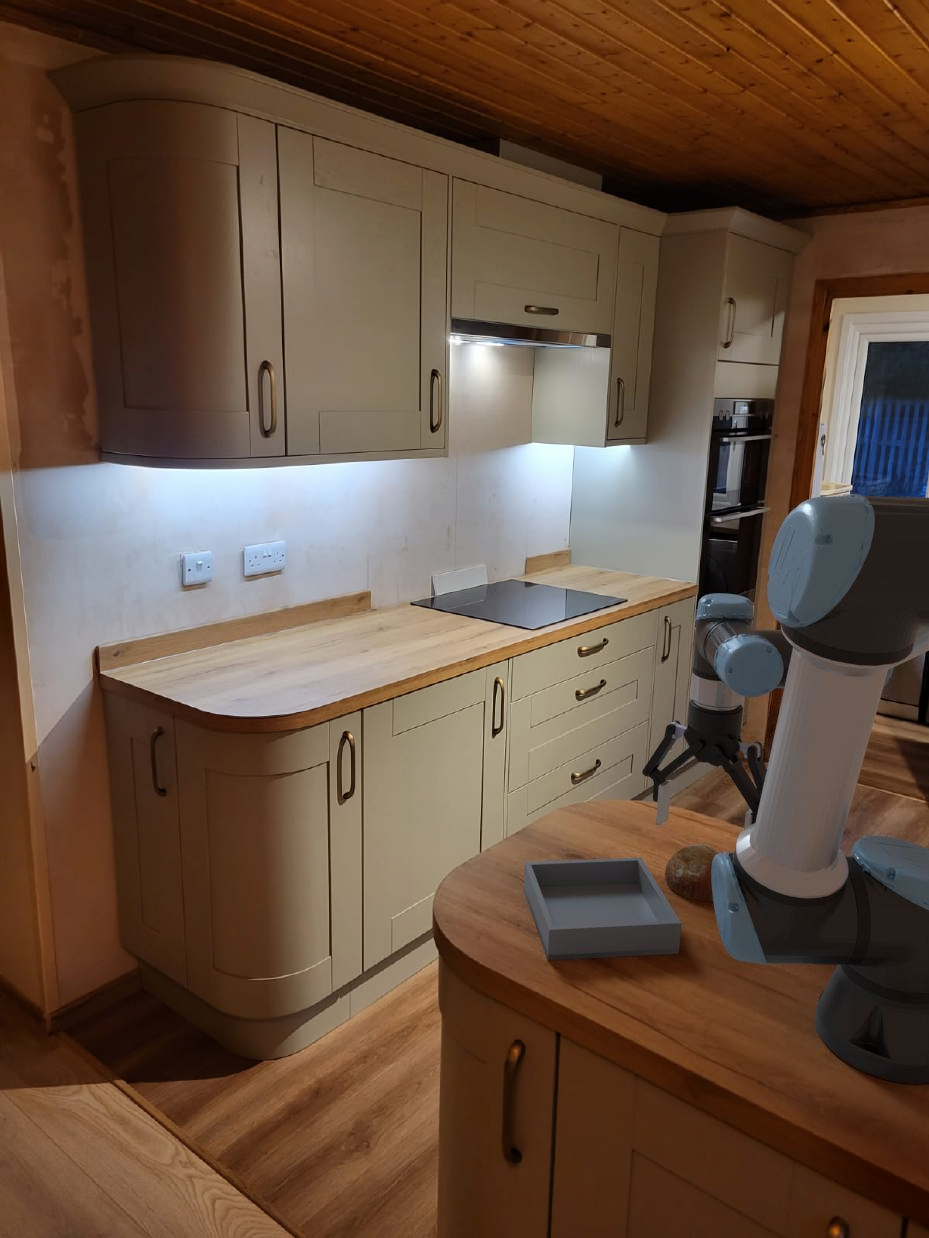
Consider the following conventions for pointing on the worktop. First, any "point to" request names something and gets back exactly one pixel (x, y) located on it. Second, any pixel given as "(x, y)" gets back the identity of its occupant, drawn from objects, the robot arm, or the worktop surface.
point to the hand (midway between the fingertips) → (703, 836)
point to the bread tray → (600, 909)
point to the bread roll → (691, 872)
